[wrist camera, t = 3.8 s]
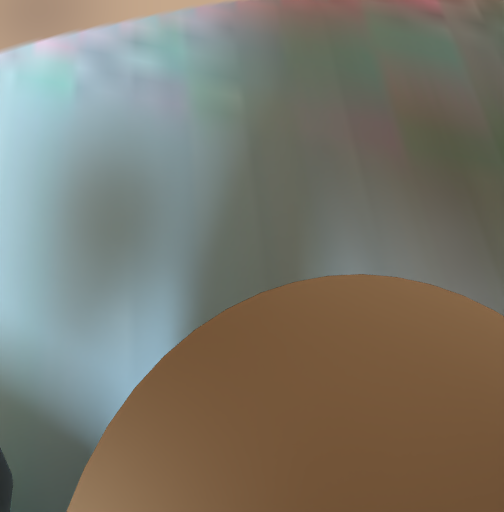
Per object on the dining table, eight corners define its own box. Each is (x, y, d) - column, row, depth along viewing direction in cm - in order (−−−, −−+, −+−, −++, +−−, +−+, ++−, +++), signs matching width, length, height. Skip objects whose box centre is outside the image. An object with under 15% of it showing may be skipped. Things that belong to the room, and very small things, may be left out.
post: (258, 562, 14) (669, 1420, 2) (134, 487, 14) (-159, 845, 2) (318, 427, 15) (744, 449, 4) (207, 362, 15) (261, 182, 4)
